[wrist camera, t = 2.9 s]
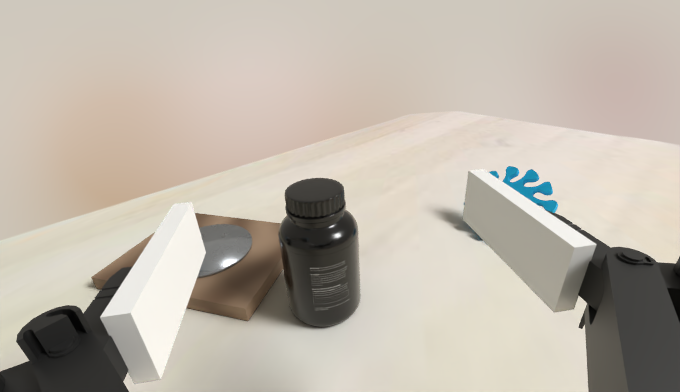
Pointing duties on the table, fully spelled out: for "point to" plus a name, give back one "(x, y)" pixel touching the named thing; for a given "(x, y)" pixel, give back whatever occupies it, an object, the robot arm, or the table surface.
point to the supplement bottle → (320, 253)
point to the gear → (529, 191)
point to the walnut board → (224, 265)
